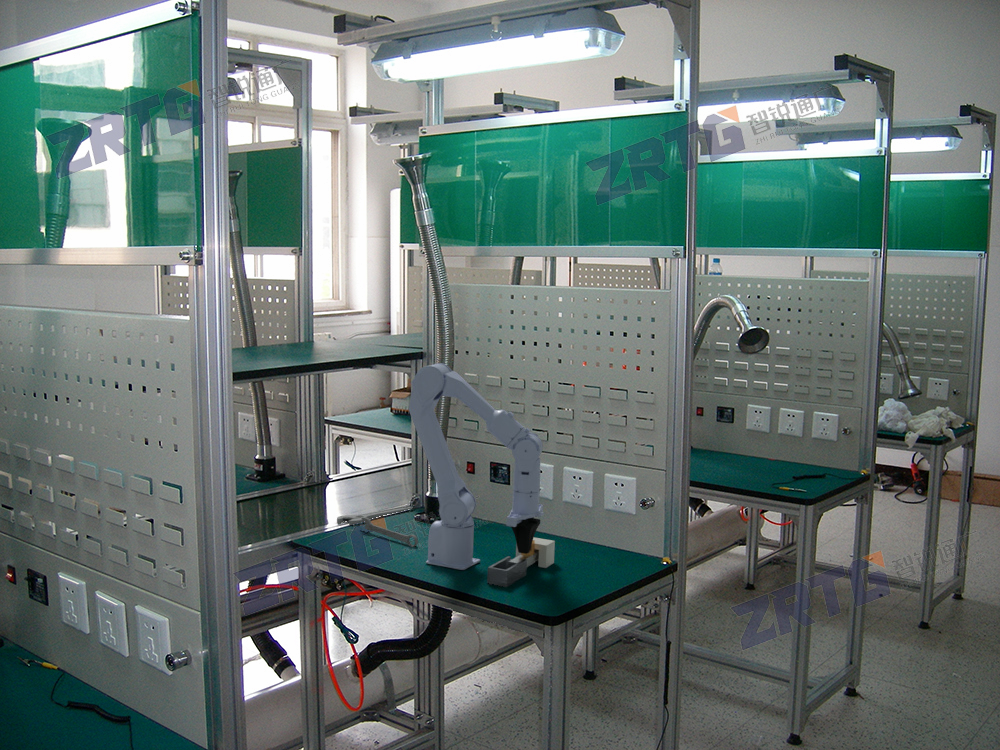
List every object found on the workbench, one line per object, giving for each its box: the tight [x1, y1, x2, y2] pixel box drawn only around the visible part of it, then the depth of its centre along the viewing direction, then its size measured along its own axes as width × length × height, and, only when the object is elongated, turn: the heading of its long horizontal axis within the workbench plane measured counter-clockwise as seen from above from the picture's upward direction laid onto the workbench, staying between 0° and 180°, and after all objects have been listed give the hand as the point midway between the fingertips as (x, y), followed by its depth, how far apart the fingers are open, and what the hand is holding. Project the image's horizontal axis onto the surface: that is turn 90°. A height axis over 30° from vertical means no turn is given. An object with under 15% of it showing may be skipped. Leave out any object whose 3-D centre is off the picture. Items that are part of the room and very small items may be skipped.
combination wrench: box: [359, 517, 419, 548], centre depth 219 cm, size 4×1×20 cm
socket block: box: [515, 537, 556, 569], centre depth 203 cm, size 7×4×5 cm, turn 64°
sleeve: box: [486, 555, 528, 588], centre depth 191 cm, size 4×10×3 cm, turn 154°
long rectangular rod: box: [508, 540, 539, 568], centre depth 198 cm, size 2×12×5 cm, turn 153°
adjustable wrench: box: [336, 504, 413, 526], centre depth 239 cm, size 25×6×2 cm, turn 135°
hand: (523, 552), depth 198 cm, fingers closed
